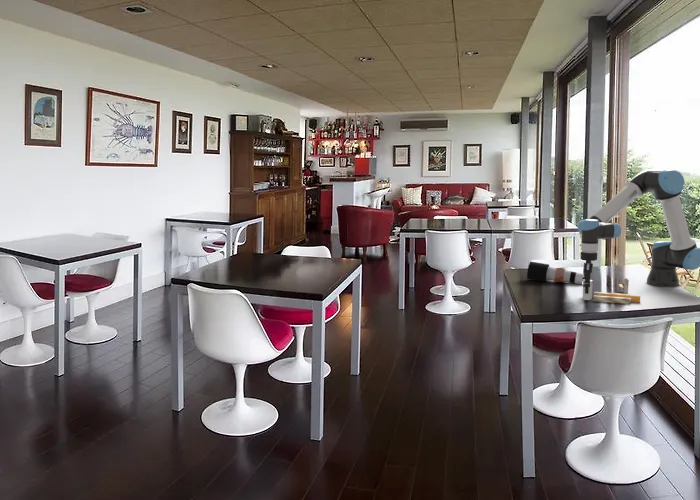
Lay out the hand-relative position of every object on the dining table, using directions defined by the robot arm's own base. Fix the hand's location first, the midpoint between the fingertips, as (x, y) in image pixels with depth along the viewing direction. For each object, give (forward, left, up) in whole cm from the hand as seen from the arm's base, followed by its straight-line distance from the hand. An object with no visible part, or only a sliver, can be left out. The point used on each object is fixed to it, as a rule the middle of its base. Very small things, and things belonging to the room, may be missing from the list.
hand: (586, 297), depth 281 cm
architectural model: (-17, -20, -1) cm, 27 cm away
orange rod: (-15, 0, -1) cm, 15 cm away
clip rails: (-11, 0, 0) cm, 11 cm away
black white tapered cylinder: (+15, -35, -1) cm, 38 cm away
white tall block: (0, 0, 0) cm, 0 cm away
